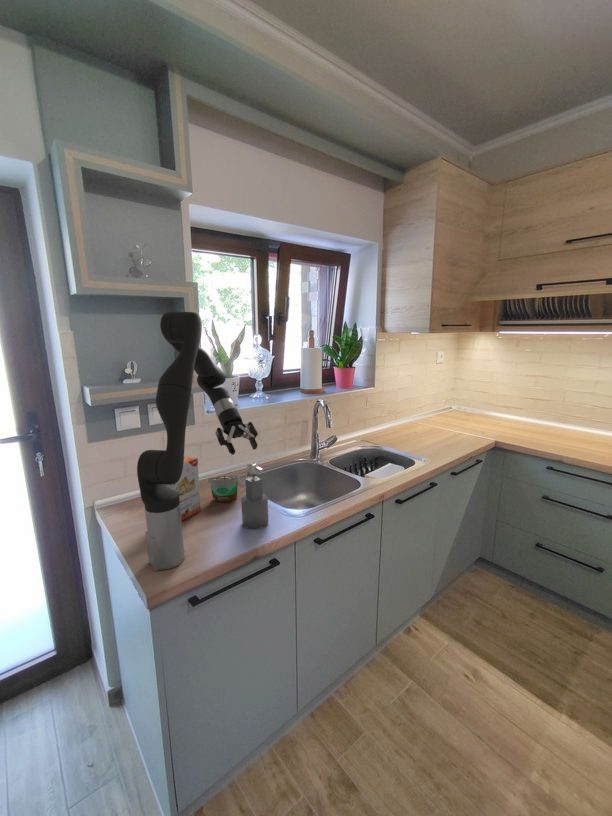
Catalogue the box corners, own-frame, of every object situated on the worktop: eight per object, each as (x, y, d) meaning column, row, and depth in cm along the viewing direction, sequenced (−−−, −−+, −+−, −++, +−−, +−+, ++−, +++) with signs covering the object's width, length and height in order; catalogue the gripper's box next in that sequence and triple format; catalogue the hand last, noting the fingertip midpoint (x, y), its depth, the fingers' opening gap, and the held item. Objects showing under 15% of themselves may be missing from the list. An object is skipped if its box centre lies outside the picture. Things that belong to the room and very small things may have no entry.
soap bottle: (251, 532, 120) (249, 486, 117) (237, 521, 127) (235, 478, 124) (273, 523, 126) (272, 479, 123) (259, 513, 133) (257, 472, 130)
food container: (209, 507, 139) (208, 482, 137) (209, 500, 144) (207, 476, 143) (242, 502, 142) (241, 478, 140) (240, 496, 148) (239, 472, 146)
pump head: (257, 505, 120) (256, 470, 117) (246, 498, 125) (244, 464, 123) (267, 501, 122) (266, 467, 120) (256, 494, 128) (254, 461, 125)
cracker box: (172, 528, 124) (166, 469, 120) (160, 523, 127) (154, 466, 123) (202, 510, 136) (198, 457, 132) (190, 507, 139) (186, 455, 135)
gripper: (211, 410, 125) (229, 449, 119) (247, 404, 134) (266, 441, 128) (206, 422, 130) (223, 460, 124) (241, 416, 139) (258, 452, 133)
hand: (244, 450), depth 126 cm, fingers open, 8 cm apart
